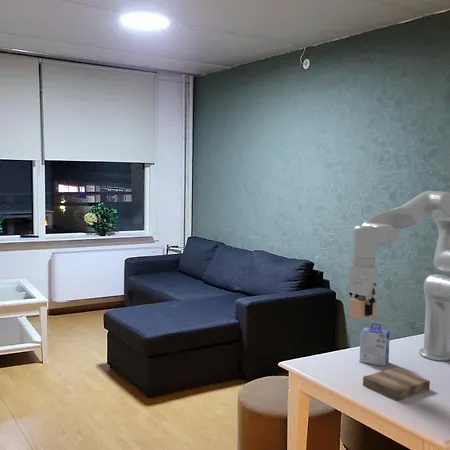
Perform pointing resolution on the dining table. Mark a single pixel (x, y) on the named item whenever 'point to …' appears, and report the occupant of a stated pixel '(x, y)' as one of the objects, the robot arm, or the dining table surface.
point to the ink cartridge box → (374, 345)
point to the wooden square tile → (396, 383)
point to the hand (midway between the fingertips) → (362, 312)
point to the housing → (359, 307)
